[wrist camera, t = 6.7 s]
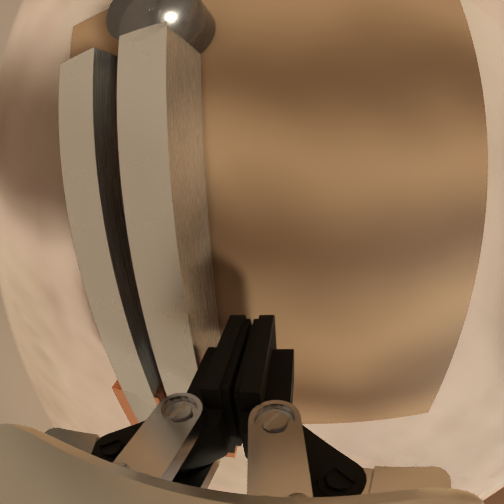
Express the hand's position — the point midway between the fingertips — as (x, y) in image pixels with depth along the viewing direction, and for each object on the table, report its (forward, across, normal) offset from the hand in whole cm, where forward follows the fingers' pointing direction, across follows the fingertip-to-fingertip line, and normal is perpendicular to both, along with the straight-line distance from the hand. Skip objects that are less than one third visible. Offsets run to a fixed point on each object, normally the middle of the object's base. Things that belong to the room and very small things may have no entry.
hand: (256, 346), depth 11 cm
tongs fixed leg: (+1, +5, -3) cm, 6 cm away
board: (+3, -1, -4) cm, 5 cm away
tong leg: (+1, +2, -4) cm, 5 cm away
